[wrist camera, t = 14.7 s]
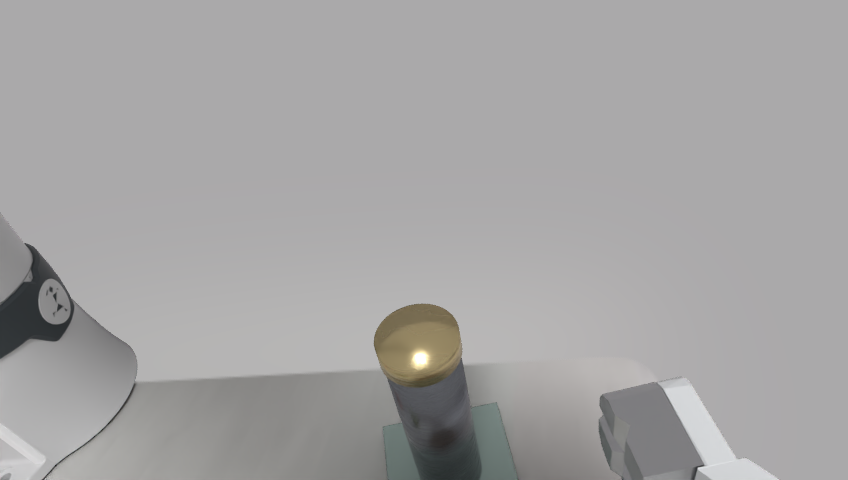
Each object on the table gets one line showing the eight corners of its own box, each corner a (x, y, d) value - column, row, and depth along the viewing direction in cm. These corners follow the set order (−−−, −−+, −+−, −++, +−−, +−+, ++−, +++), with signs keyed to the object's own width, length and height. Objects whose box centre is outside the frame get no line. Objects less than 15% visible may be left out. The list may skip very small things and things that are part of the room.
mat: (395, 549, 39) (394, 545, 38) (384, 431, 46) (382, 426, 45) (528, 521, 39) (528, 516, 38) (497, 406, 46) (496, 402, 45)
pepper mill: (421, 507, 40) (376, 378, 31) (413, 444, 44) (371, 313, 34) (490, 494, 40) (466, 360, 31) (476, 432, 44) (451, 296, 34)
